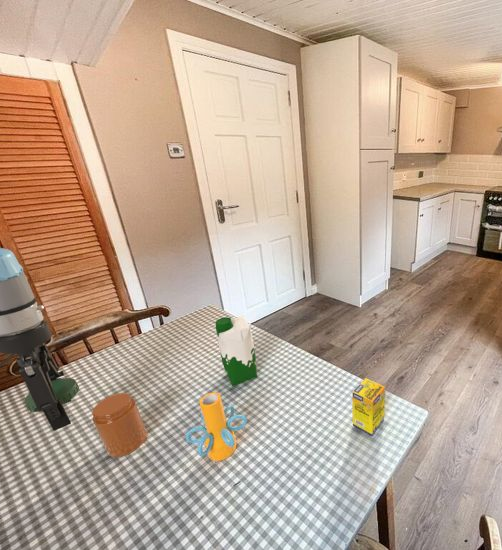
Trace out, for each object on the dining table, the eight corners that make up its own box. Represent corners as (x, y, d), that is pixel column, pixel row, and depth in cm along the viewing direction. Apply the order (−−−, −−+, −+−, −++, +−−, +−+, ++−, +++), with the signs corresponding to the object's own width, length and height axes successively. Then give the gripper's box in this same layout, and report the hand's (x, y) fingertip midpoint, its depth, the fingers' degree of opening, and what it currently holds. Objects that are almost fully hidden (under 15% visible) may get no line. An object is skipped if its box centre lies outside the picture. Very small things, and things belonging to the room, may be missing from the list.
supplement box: (372, 437, 72) (372, 402, 68) (352, 425, 76) (351, 391, 71) (384, 420, 77) (385, 386, 73) (365, 410, 80) (365, 377, 76)
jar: (106, 441, 72) (88, 403, 67) (144, 423, 76) (130, 386, 72) (108, 464, 66) (90, 424, 62) (149, 443, 71) (135, 405, 67)
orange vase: (190, 481, 63) (173, 428, 57) (194, 440, 72) (180, 391, 66) (252, 459, 67) (242, 408, 62) (249, 423, 76) (239, 376, 71)
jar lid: (59, 411, 63) (55, 403, 62) (16, 414, 62) (12, 406, 61) (88, 383, 70) (85, 376, 69) (50, 386, 70) (47, 378, 69)
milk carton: (223, 373, 94) (211, 316, 86) (253, 362, 98) (244, 308, 91) (229, 390, 87) (216, 330, 79) (261, 377, 92) (252, 320, 84)
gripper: (41, 342, 54) (86, 434, 63) (48, 303, 69) (84, 382, 77) (-23, 360, 50) (35, 456, 58) (-1, 314, 64) (42, 397, 73)
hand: (62, 414), depth 68 cm, fingers closed on jar lid, 8 cm apart
